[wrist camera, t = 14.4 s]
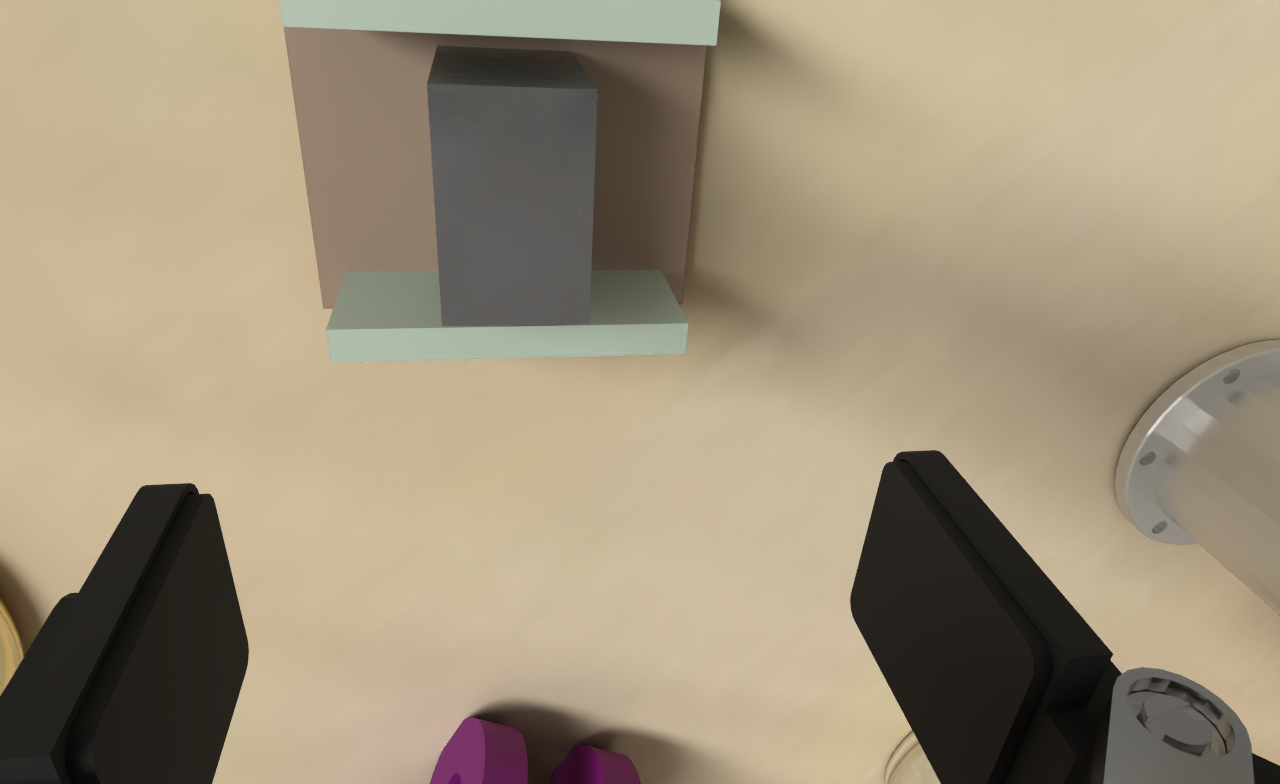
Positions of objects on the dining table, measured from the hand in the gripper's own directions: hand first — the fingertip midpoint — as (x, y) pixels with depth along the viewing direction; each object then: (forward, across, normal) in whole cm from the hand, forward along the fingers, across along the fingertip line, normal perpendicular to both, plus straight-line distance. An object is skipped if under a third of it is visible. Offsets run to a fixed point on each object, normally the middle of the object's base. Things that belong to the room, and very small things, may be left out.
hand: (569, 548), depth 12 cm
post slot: (+22, 0, 0) cm, 22 cm away
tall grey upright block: (+21, 0, 0) cm, 21 cm away
